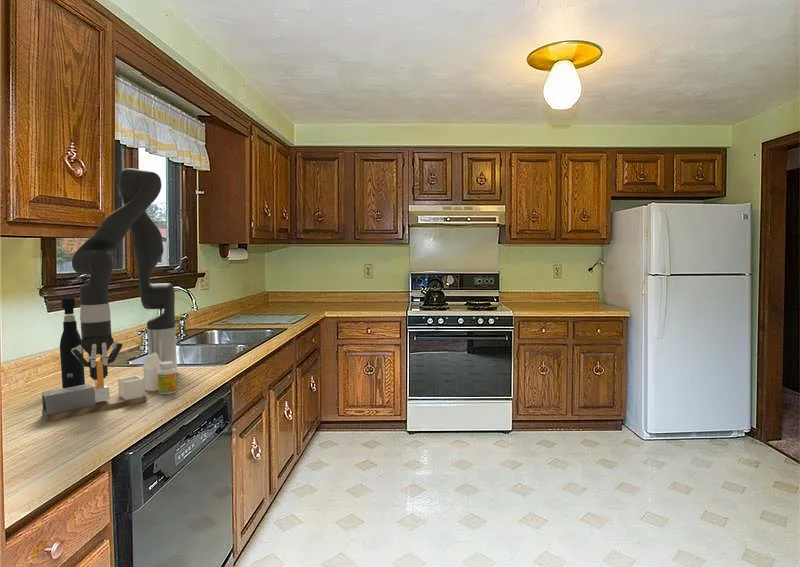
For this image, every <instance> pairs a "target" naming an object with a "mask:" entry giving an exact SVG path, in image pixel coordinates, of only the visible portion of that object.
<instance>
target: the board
mask: <svg viewBox="0 0 800 567" xmlns="http://www.w3.org/2000/svg"><path fill="white" fill-rule="evenodd" d="M144 401H147V396H146V395H145V396H144V397H139V398H134V399H129V400H124V399H123V398H121V397H120V396H119V394H118V395H114V396H110V399H108V400H103V401H98V402H95V404H96V406H93V407H88V408H83V409H78V410H73V411H68V412H63V413H58V414H53V415H48V416H47V415H46V414H45V413H44V412H43V409H41V416H42V417H43V418H44V419H45V420H46V421H47V423H52V422H57V421H60V420H61V419H62V420H64V419H65V420H66V419H69V418H70V417H71V418H74V416H76V417H81V416H85V415H91V414H94V413H95V414H96V413H99V412H100V413H101V412H104V411H109V410H114V409H119V408H123V407H128V406H132V405H133V406H134V405H137V403H138V404H141V402H143V403H145V402H144ZM80 415H81V416H80ZM56 420H57V421H56Z"/></svg>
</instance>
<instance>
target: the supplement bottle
mask: <svg viewBox="0 0 800 567" xmlns="http://www.w3.org/2000/svg"><path fill="white" fill-rule="evenodd" d="M160 368H161V369H160V370H159V371H158V390H157V391H158V394H160V395H162V394H167V395H171V394H172V393H173V394H175V393H177V391H178V387H177V386H178V383H177V374H176V370H175V369H174V368H173V362H172V361H165V362H161V363H160ZM173 394H172V395H173Z"/></svg>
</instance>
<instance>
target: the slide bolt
mask: <svg viewBox="0 0 800 567" xmlns="http://www.w3.org/2000/svg"><path fill="white" fill-rule="evenodd" d="M95 367H96V371H97V380H94V386H93V387H94V388H95V402H98V401H103V400H108V399H110V397H111V396H110V386H108V385H107V384H105V381H104V379H105V378H104V377H103V361H102V360H101V359H100V358H96V366H95Z"/></svg>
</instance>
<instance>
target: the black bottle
mask: <svg viewBox="0 0 800 567" xmlns="http://www.w3.org/2000/svg"><path fill="white" fill-rule="evenodd" d="M60 300H61V309H64V316H63V322H62V325H63V331H62V334H61V336H60V343H59V352H60V353H59V355H60V368H61V385H62V386H61V387H62V388H61V389H63V388H68V387H74V386H80V385H85V384H86V378H85V366H84V365H82V364H81V363H80V362H79V360H78V359H77V358H76V357H75V355H74V354H73V353H72V352H71V349H72V348H76V347H77V346H79V345H80V342H81V339H82V337H81V333H79V330H78V326H77V325H78V324H77V320H76V315H74V314H75V311H74V309H75V308H77V307H76V306H77V304H76V297H62V298H61V299H60ZM81 355H82V356H83V357H84V349H83V348H82V353H81Z"/></svg>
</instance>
